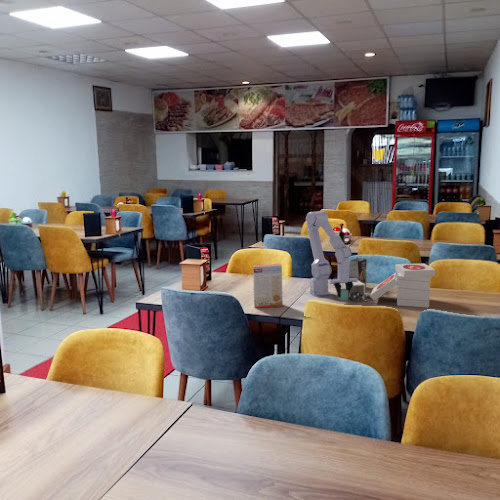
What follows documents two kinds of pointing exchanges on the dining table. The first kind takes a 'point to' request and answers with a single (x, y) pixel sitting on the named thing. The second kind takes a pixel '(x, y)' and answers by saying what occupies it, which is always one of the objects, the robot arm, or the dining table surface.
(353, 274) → the coffee box
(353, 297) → the pin base
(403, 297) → the pizza box stack
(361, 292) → the housing cover
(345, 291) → the jaw block
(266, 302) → the cracker box
